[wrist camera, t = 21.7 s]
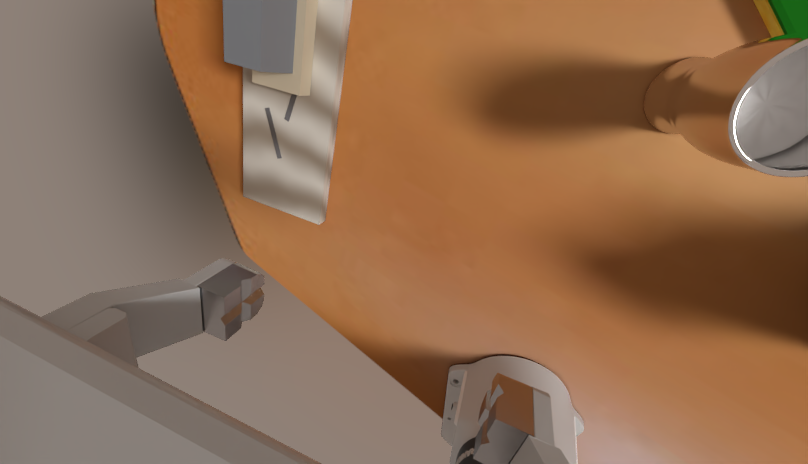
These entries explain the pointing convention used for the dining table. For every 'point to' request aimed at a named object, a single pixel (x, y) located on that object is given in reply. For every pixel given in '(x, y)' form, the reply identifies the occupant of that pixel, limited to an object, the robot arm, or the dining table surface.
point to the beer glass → (740, 104)
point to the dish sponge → (784, 16)
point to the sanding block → (272, 41)
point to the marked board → (297, 126)
